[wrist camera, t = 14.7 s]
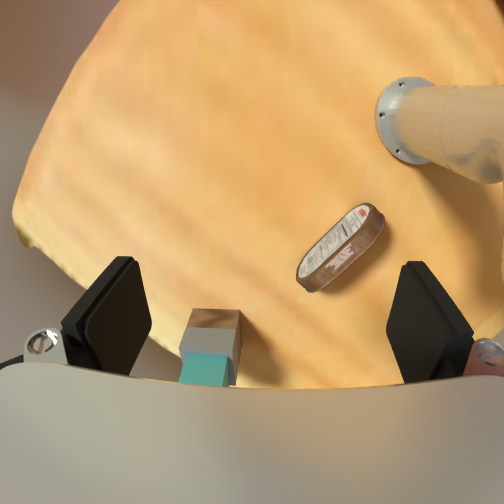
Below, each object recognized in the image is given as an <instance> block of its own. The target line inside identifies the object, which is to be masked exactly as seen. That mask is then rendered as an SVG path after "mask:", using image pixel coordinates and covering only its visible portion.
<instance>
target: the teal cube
mask: <svg viewBox="0 0 504 504" xmlns="http://www.w3.org/2000/svg"><path fill="white" fill-rule="evenodd" d="M178 383H187V384H197V385H209V386H222V387H228V385H229V374H228V356H220V355H208V354H197V353H187V356H186V359H185V362H184V365H183V369H182V372H181V375H180V378H179V382H178Z"/></svg>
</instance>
